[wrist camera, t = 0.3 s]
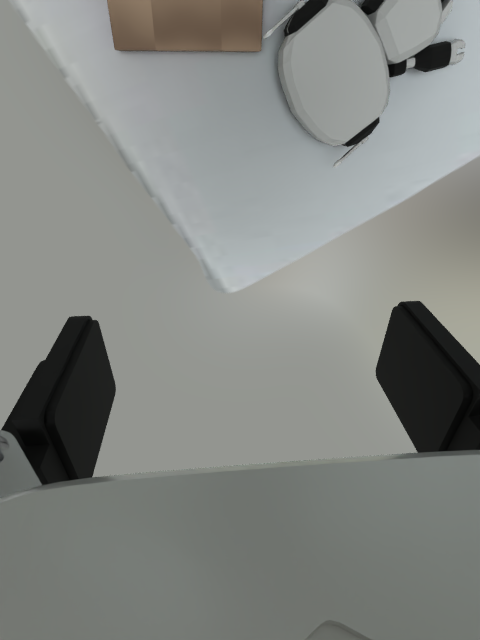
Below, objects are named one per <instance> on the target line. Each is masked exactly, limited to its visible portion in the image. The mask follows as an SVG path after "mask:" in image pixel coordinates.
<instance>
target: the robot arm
mask: <svg viewBox="0 0 480 640" xmlns="http://www.w3.org/2000/svg"><path fill="white" fill-rule="evenodd" d="M376 376H377V380H378V382H379V383H380V385H381V387H382V388H383V391H384V392H385V394H386V396H387V398H388V399H389V401H390V403H391V405H392V407H393V408H394V410H395V412H396V414H397V416H398V417H399V419H400V421H401V423H402V424H403V426H404V428H405V430H406V432H407V434H408V435H409V437H410V439H411V441H412V443H413V444H414V446H415V448H416V450H417V452H418V453H407V454H392V455H377V456H362V457H347V458H332V459H318V460H304V461H290V462H277V463H264V464H249V465H236V466H223V467H210V468H198V469H184V470H171V471H158V472H146V473H135V474H124V475H114V476H103V477H92V476H93V472H94V468H95V465H96V461H97V458H98V454H99V451H100V447H101V443H102V440H103V436H104V432H105V429H106V425H107V422H108V418H109V415H110V411H111V408H112V404H113V400H114V396H115V391H116V387H115V381H114V378H113V374H112V370H111V367H110V363H109V359H108V356H107V352H106V349H105V345H104V341H103V337H102V333H101V330H100V326H99V323H98V321H97V320H92V318H91V317H90V316H74V317H69V318H68V320H67V322H66V323H65V325H64V327H63V329H62V331H61V333H60V334H59V336H58V338H57V340H56V342H55V343H54V345H53V347H52V349H51V351H50V352H49V354H48V356H47V358H46V360H44V361H41V362H40V363H39V365H38V366H37V368H36V370H35V371H34V373H33V375H32V377H31V378H30V380H29V382H28V384H27V386H26V387H25V389H24V391H23V392H22V394H21V396H20V398H19V400H18V401H17V403H16V405H15V407H14V408H13V410H12V412H11V414H10V415H9V417H8V419H7V421H6V422H5V424H4V426H3V428H2V429H1V430H0V640H480V365H479V364H478V363H477V362H476V360H475V359H474V358H473V357H472V356H471V355H470V354H469V353H468V352H467V351H466V350H465V349H464V347H462V345H461V344H460V343H459V342H458V341H457V340H456V339H455V338H454V337H453V336H452V335H451V333H450V332H448V330H447V329H446V328H445V327H444V326H443V325H442V324H441V323H440V322H439V321H438V320H437V318H436V317H435V316H433V314H432V313H431V312H430V311H429V310H428V309H427V308H426V307H425V306H424V305H423V304H422V303H421V302H420V301H407V302H400V303H399V304H398V306H396V307H394V308H393V310H392V313H391V317H390V320H389V324H388V327H387V331H386V334H385V338H384V342H383V345H382V349H381V352H380V356H379V360H378V363H377V367H376Z"/></svg>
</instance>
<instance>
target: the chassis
mask: <svg viewBox="0 0 480 640" xmlns="http://www.w3.org/2000/svg"><path fill="white" fill-rule="evenodd" d="M107 2H108V9H109V15H110V22H111V28H112V35H113V41H114V48H115V50H119V51H220V52H259V51H261V41H262V7H263V0H107Z"/></svg>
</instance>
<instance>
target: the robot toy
mask: <svg viewBox="0 0 480 640" xmlns="http://www.w3.org/2000/svg"><path fill="white" fill-rule="evenodd" d="M452 3H453V0H365V1H364V3H363V5H362V7H361V9H360V8H359V7H358V6H357V5H356V4H355V3H354V2H352V1H350V0H309V1H308V2H306V3H305V2H304V0H301V1H300V2H299V3H297V4H296V5H295V6H294V9H293V10H292V11H291V12H290V13H288V14H287V15H286V16H285V17H284V18H283V19H282V20H281V21H280V22H279V23H278V24H277V25H275V26H274V27H273V28H272V29H270V30H269V31H268V32H267V33H266V34H265V35H264V38H263V39H265V38H267V37H269V36H270V35H271V34H272V33H273V31H274V30H275V29H276V28H278V27H279V26H280V25H281V24H282V23H283V22H284V21H285V20H286V19H287V18H288V17H289V16H291V15H292V14H293V13H294V12H295V11H296V12H295V13H294V14H293V15H292V16H291V18H290V20H289V22H288V23H287V25H286V27H285V29H284V33H285V39H284V41H283V43H282V45H281V47H280V49H279V51H278V71H279V77H280V81H281V85H282V88H283V91H284V94H285V96H286V99H287V102H288V104H289V107H290V110H291V112H292V113H293V115H294V116H295V117H296V118H297V120H298V121H299V122H300V123H301V125H302V126H303V127H304V128H305V130H306V131H307V132H309V133H310V134H311V135H312V136H313V137H314V138H315V139H317V140H318V141H321V142H324V143H326V144H329V145H332V146H338V145H341V144H342V145H344V146H347V147H348V146H352V145H355V144H356V145H355V146H354V147H353V148H352V149H350V150H349V151H348V152H347V153H346V154H345V155H344V156H343V157H342V158H341V159H340V160H338V161H337V162H335V163H334V166H333V167H336V166H338V165H340V164H341V163H342V161H343V160H344V159H345V158H346V157H347V156H348V155H349V154H351V153H352V152H353V151H354V150H355V149H356V148H357V147H358V146H359V145H360V144H363V143H364V142H366V141H367V140H368V137H367V136H368V135H370V134H371V133H372V131H373V130H374V129H375V127H376V126H377V125H378V123H379V116H380V115H381V114H382V113H383V111H384V109H385V108H386V106H387V105H388V99H389V94H390V79H389V77H394V76H398V75H402V74H403V73H405V71H406V69H408V68H412V67H413V68H415V69H417V70H420V71H423V72H428V71H432V70H436V69H440V68H444V67H446V66H447V65H449V64H450V65H454V64H456V63H458V62H460V61H461V60H462V58H463V57H464V52H463V53H462V52H461V53H459V54H457V48H461V49H462V48H465V43H464V41H463V40H460V39H455V40H453V41H452V42H451V43H450V42H446V41H445V42H441V43H436V44H432V45H430V44H431V43H432V41H433V40H434V39H435V37H436V36H437V35H438V32H439V30H440V27H441V25H442V23H443V22H444V20H445V19H446V18H447V16H448V15H449V13H450V12H451V11H452ZM364 13H365V14H367V15H365V14H364ZM416 53H417V54H416ZM414 54H415V55H414ZM413 55H414V56H413ZM411 56H413V57H412V58H409V57H411ZM407 58H408V59H407Z"/></svg>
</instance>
